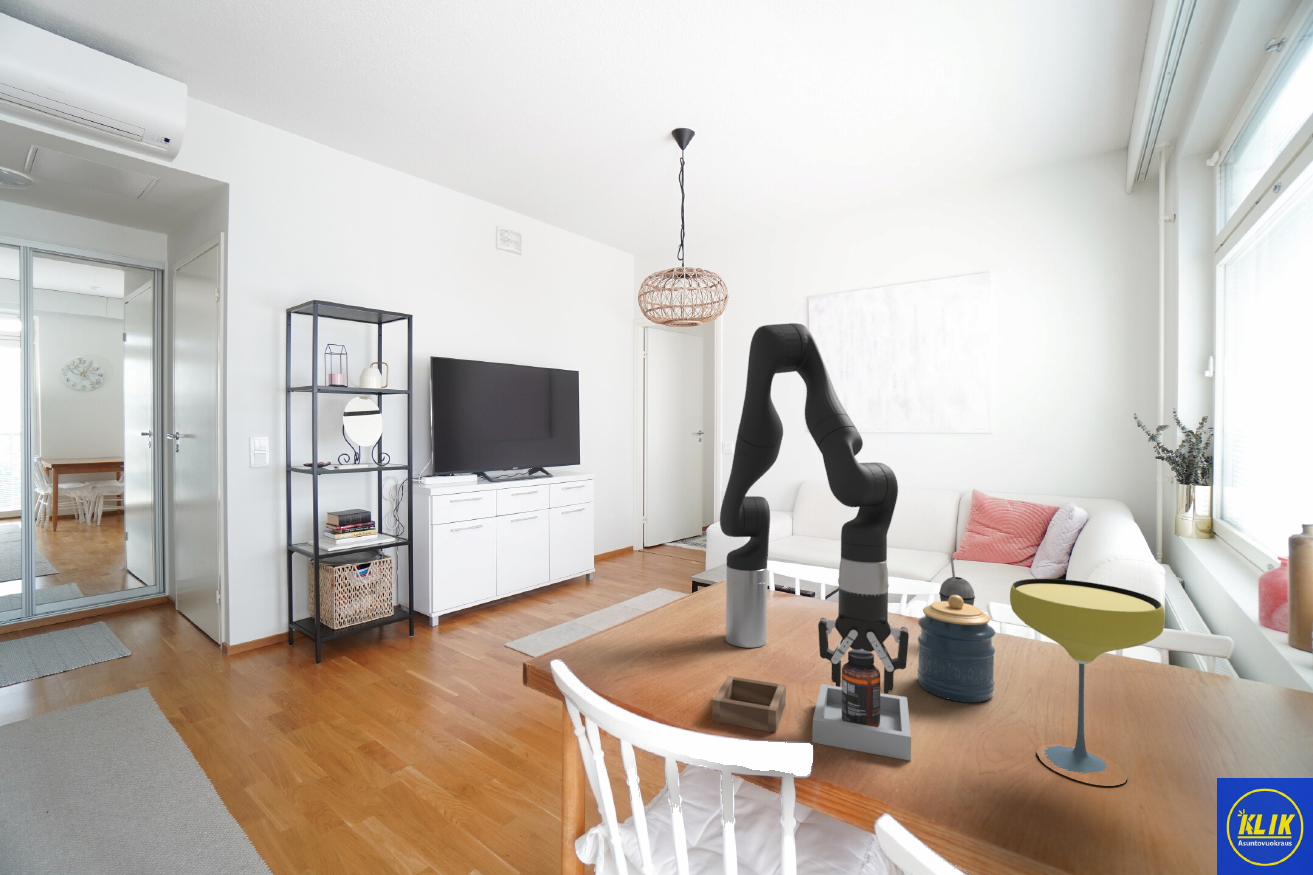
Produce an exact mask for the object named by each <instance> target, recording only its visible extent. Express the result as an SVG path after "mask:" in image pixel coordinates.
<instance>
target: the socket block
mask: <svg viewBox="0 0 1313 875" xmlns="http://www.w3.org/2000/svg"><path fill="white" fill-rule="evenodd" d="M786 689H787V687H786V684H782V683H773V682H768V681H763V680H757V679H749V678H743V677H736V676H732V675H727V677H726V678H725V680H724V681H723V683H722V684H721V686H720V688H719V689H718V691H717V693H716V694H715V696H714V697H713V699H712V722H715V723H722V724H727V725H732V726H733V725H734V726H738V727H744V728H749V729H754V730H759V731H765V732H769V733H777V730H778V727H779V724H780V722H781V719H782V716H783V713H784V710H785V707H786V699H787V698H786V697H787V696H786V693H787V692H786V691H787V690H786Z"/></svg>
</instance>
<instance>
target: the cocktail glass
mask: <svg viewBox="0 0 1313 875" xmlns="http://www.w3.org/2000/svg"><path fill="white" fill-rule="evenodd" d="M1009 602H1010V606H1011V610H1012V612H1013V613H1014V614H1015V616H1017V618H1018V619H1019V620H1021V621H1022V622H1023V623H1024V624H1025V625H1027V626H1028V627H1030V628H1031V629H1033V630H1034V631H1036V632H1037V633H1038V634H1041V635H1043V636H1045V637H1047V638H1048V639H1049V640H1052V641H1053V642H1055V643H1057V644H1058V645H1060V646H1061V647H1062V648H1064V649H1065V651H1066V652H1067V653H1068V655H1069V656H1070V658H1071V659H1072V660H1073V661H1074V662H1076V663H1078V704H1077V705H1078V706H1077V707H1078V708H1077V733H1076V740H1075V744H1074V746H1075V748H1072V747H1063V746H1055V747H1047V748H1048V749H1047V750H1044V751H1045V752H1046V753H1044V754H1045V755H1046V754H1047V755H1048V756H1046V757H1047V759H1049V760H1051V761H1050V762H1053V763H1054V764H1053V765H1056V766H1058V767H1059V768H1063V769H1068V771H1073V772H1074V771H1075V772H1079V773H1080V772H1083V774H1084V773H1086V772H1087V773H1089V772H1090V773H1091V772H1099V771H1105V770H1103V769H1105V768H1107V767H1105V766H1106V763H1105V761H1102V759H1101V758H1098V757H1097V756H1095V755H1093V754H1091V753H1088V752H1087V751H1086V749H1087V748H1086V741H1085V717H1084V716H1085V665H1089V664H1091V663H1092V662H1094V661H1095V660H1096V659H1097V658H1099V656H1100V655H1102V654H1105V653H1109V652H1114V651H1119V650H1125V649H1130V648H1134V647H1139V646H1142V645H1145V644H1148V643H1149V642H1151V641H1154V640H1155V639H1156V638H1158V637H1160V636H1161V634H1163V631H1164V629H1165V620H1166V616H1165V614H1166V613H1165V609H1164V605H1163V604H1162V602H1161V601H1160V600H1158V599H1156V598H1155V597H1151V596H1150V595H1146V594H1143V593H1141V592H1137V591H1134V590H1130V589H1126V588H1122V587H1117V586H1113V585H1107V584H1101V583H1095V582H1089V581H1082V580H1080V581H1079V580H1073V579H1061V578H1060V579H1059V578H1027V579H1020V580H1017V581H1015V582H1013V583H1012V585H1011V587H1010V592H1009ZM1048 762H1049V761H1048ZM1060 766H1061V767H1060ZM1066 771H1067V770H1066ZM1087 773H1086V774H1087ZM1081 774H1082V773H1081ZM1091 774H1092V773H1091ZM1093 774H1094V773H1093Z"/></svg>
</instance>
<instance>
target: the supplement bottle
mask: <svg viewBox="0 0 1313 875" xmlns="http://www.w3.org/2000/svg"><path fill="white" fill-rule="evenodd" d="M847 660H848V661H847V662H845V663H844V664H843V665H842V666H841V687H842V720H843V721H844V722H849V723H855V724H861V725H867V726H872V727H878V726H879V725H880V693H881V672H880V670H879V668H878V667H877V666H876V665H875V654H874V653H873V652H869V651H865V650H863V649H860V650H854V649H850V650H848V651H847Z"/></svg>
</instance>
